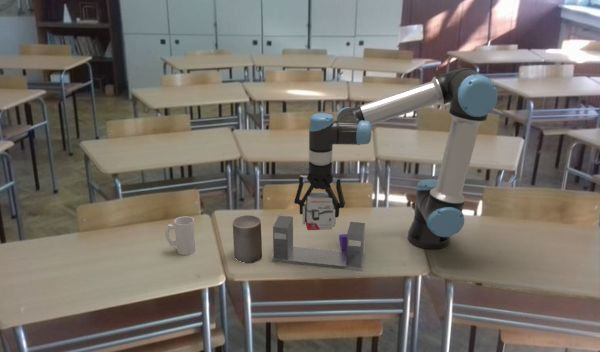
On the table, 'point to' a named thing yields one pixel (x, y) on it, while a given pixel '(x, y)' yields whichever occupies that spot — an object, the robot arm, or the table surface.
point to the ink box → (319, 211)
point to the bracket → (343, 242)
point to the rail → (318, 257)
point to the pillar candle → (247, 239)
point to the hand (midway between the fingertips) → (319, 223)
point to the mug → (183, 235)
